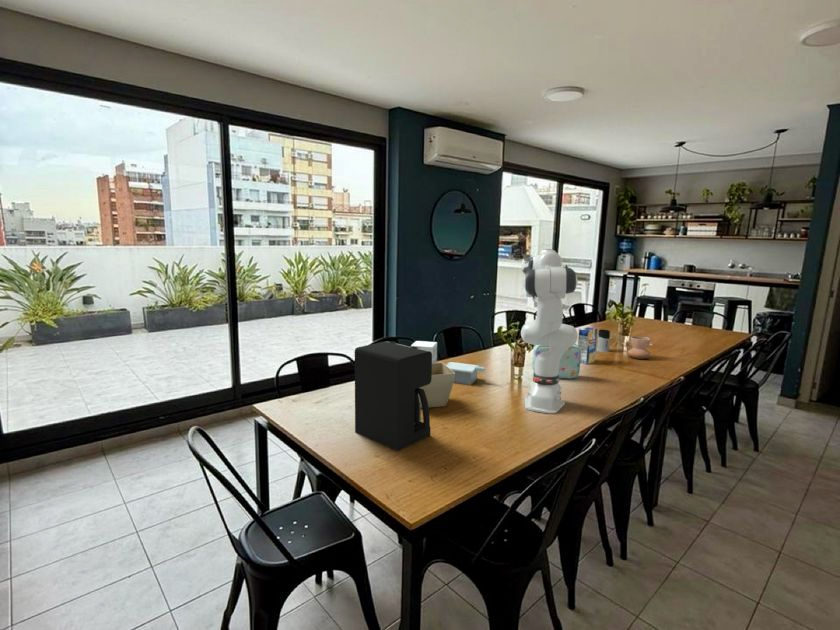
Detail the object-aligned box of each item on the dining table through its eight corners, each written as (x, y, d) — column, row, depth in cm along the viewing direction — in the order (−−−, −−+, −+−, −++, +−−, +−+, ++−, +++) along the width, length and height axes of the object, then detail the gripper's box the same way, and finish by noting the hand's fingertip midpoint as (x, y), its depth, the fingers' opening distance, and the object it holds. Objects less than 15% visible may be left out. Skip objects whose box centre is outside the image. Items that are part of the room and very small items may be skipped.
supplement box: (409, 374, 256) (410, 345, 253) (415, 368, 268) (415, 340, 265) (432, 376, 253) (432, 346, 250) (436, 370, 265) (437, 342, 262)
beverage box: (576, 362, 289) (579, 329, 286) (585, 359, 296) (587, 327, 293) (586, 364, 284) (588, 330, 281) (594, 361, 291) (597, 328, 288)
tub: (470, 384, 239) (471, 372, 238) (443, 380, 245) (443, 368, 244) (477, 378, 250) (477, 366, 249) (450, 375, 256) (450, 363, 255)
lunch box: (577, 375, 261) (579, 339, 257) (581, 380, 250) (584, 343, 247) (531, 373, 263) (533, 337, 260) (533, 378, 253) (535, 341, 250)
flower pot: (415, 412, 199) (415, 376, 197) (405, 397, 218) (405, 364, 215) (454, 408, 205) (455, 373, 202) (441, 394, 223) (442, 362, 220)
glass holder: (600, 348, 328) (601, 328, 326) (618, 352, 317) (620, 332, 315) (593, 350, 323) (595, 330, 320) (612, 354, 312) (614, 333, 309)
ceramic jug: (656, 359, 301) (658, 338, 299) (645, 361, 292) (647, 340, 290) (630, 354, 315) (631, 334, 313) (619, 356, 307) (621, 336, 305)
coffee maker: (439, 438, 173) (441, 351, 167) (405, 455, 158) (406, 361, 153) (389, 418, 191) (389, 339, 186) (354, 432, 177) (353, 347, 171)
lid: (480, 375, 235) (481, 371, 235) (442, 370, 244) (442, 366, 243) (487, 369, 247) (487, 365, 247) (450, 364, 256) (450, 360, 255)
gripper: (526, 280, 233) (524, 306, 235) (566, 281, 229) (565, 307, 231) (526, 279, 239) (524, 304, 241) (565, 280, 235) (563, 306, 237)
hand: (544, 306), depth 236 cm, fingers open, 8 cm apart
